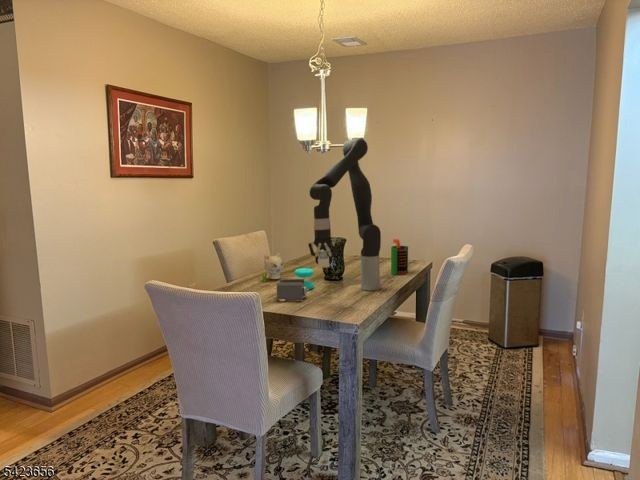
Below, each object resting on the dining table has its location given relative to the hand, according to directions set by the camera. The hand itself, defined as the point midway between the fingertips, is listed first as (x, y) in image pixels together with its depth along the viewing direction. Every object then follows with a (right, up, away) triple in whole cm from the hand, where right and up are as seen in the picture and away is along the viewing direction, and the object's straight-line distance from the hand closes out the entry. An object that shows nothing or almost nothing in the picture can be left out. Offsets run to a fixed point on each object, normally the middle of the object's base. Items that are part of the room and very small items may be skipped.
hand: (323, 263), depth 216 cm
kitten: (-28, -12, +46) cm, 55 cm away
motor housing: (-16, -17, +6) cm, 24 cm away
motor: (+44, -9, +53) cm, 70 cm away
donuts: (-10, -14, +25) cm, 30 cm away
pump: (0, -1, 0) cm, 1 cm away
